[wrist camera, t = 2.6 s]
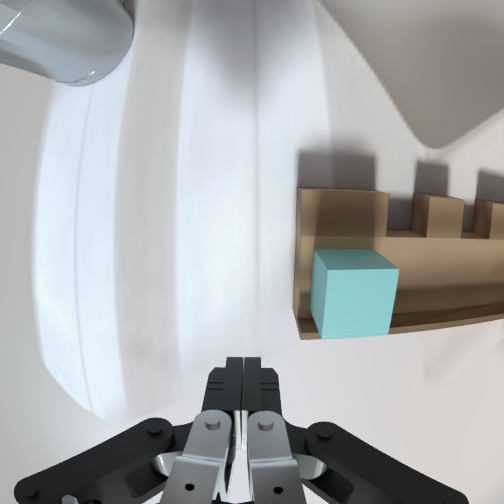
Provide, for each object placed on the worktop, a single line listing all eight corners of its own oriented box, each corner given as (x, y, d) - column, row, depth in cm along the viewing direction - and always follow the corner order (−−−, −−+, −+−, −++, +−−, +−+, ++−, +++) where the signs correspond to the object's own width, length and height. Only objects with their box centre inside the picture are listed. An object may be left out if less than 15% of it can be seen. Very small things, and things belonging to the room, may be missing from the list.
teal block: (313, 248, 24) (327, 269, 19) (373, 249, 24) (399, 268, 19) (309, 308, 25) (321, 339, 20) (366, 305, 25) (387, 334, 20)
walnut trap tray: (297, 187, 26) (309, 193, 20) (514, 204, 25) (550, 214, 20) (292, 308, 29) (301, 343, 23) (499, 295, 28) (529, 315, 23)
